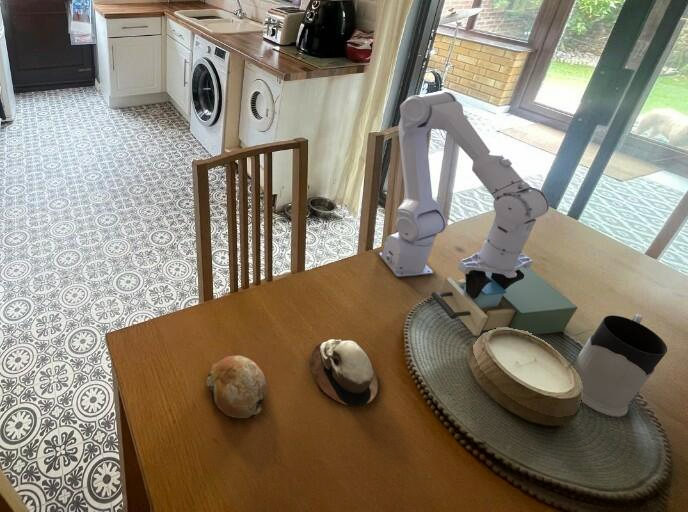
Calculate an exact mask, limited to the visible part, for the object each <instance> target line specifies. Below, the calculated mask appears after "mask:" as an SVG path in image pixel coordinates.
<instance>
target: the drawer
mask: <svg viewBox="0 0 688 512" xmlns="http://www.w3.org/2000/svg"><path fill="white" fill-rule="evenodd" d="M465 285H466V278H465V279H457V282H455V281H454V280H453V278H452V277H446V278H445V279H444V282H443V284H442V287H441V289H440V291H439V292H438V291H433V292H431V297H432V298H433V300H434V301H436V303H437V304H438V305H439V306H440V307H441V309H442V310H443V311H444V312H445V313H446V315H447V316H448V317H449V318H450V320H455V319H457V318H458V319H459V320H460V321H461V322H462V323H463V324H464V325H465V327H466V328H467V329H468V331H470V333H472V334H473V336H480V335H481V333H482V331H491V330H490V329H492V330H494V329H493V328H497V327H510V325H511V323H512V321H513V319H514V317H515V316H516V314H517V312H516V311H515V310H514V309H513V308H511V307H510V306H509V305H508V304H507V303H506V302H505V301H504V300H503V299H502V298H501V300H500V302H499V305H498V306H494V307H485V308H479V307H478V306H477V305H476V304H475V303H474V302H473V301H472V300H471V299H470V298H469V296H468V295H467V294H466V293H465V292H464V291H463V290H464V287H465Z"/></svg>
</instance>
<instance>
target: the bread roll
mask: <svg viewBox="0 0 688 512" xmlns="http://www.w3.org/2000/svg"><path fill="white" fill-rule="evenodd" d="M211 366H212V367H211V369H210V370H209V373H208V375H207V378H206V386H207V388H210V390H209V394H210V395H211V396H212V397H213V401H214V403H215V405H216V406H217V408H218V409H219V410H220V411H221V412H222V413H223V414H225V415H226V416H228V417H231V418H234V419H235V418H237V419H248V418H250V417H252V416H257V415H258V414H259V413H261V411H262V407H261V406H262V403H263V402H264V400H265V398H266V395H267V391H268V389H267V387H268V386H267V385H268V384H267V380H266V377H265V374H264V372H263V371H262V369H261V368H260V366H259V365H258V364H257V363H255V362H254V361H253V360H252V359H250V358H248V357H246V356H243V355H241V354H240V355H228V356H225V357H222V358H221V359H220V360H219V361H217V362H215V363H213V364H212V365H211Z"/></svg>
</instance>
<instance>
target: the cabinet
mask: <svg viewBox="0 0 688 512" xmlns="http://www.w3.org/2000/svg"><path fill="white" fill-rule="evenodd" d="M519 270H520V271H521V272H522V273H523V274H524V278H523V279H521V280H519V281H517V282H515V283H513V284H512V285H510V286H509V287H508V288H507V289H506V290H505V291H506V294H503V296H502V299H503V300H504V301H505V302H506V303H507V304H508V305H509V306H510V307H511V308H513V309H514V310H515V311H516V312H517V314H516V316H515V317H514V319H513V321H512V323H511V325H510V327H509V328H513V329H518V330H524V331H528V332H529V333H532V334H534V335H533V336H536V335H543V334H552V333H560V332H564V331H565V329H566V328H567V326H568V324H569V323H570V321H571V320H572V318H573V316H574V314H575V313H576V311H577V310H578V307H579V306H577V305H576V304H574V303H573V302H572V301H571V300H570V299H569V298H567V297H566V296H565V295H564V294H562V293H561V292H560V291H558V289H556V288H555V287H554V286H553V285H551V284H550V283H549V282H548V281H547V280H546V279H544V278H543V277H542V276H541V275H540V274H538V273H537V272H536V271H534V270H533V269H532V268H531V267H530V268H524V267H521V268H520V269H519ZM485 273H486V274H488V275H489V276H490V277H491V275H492V272H485Z"/></svg>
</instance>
